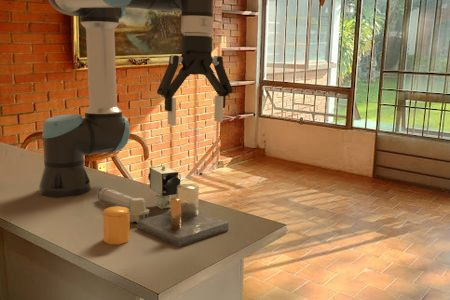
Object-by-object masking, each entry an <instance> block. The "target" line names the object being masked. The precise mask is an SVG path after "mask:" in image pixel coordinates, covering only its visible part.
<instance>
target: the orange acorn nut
mask: <svg viewBox="0 0 450 300" xmlns="http://www.w3.org/2000/svg"><path fill="white" fill-rule="evenodd" d="M129 210H130V209H128V208H126V207H121V206H117V205H114V206H109V207H107V208H105V209H103V214H102V216H103V217H102V220H103V221H102V222H103V223H102V224H103V225H102V226H103V242H105V243H107V244H108V245H122V244H125V243H128V242H129V240H130V238H131V234H130V233H131V232H130V231H131V228H130V227H131V226H130V225H131V222H130V213H129Z"/></svg>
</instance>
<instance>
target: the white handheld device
mask: <svg viewBox="0 0 450 300" xmlns="http://www.w3.org/2000/svg"><path fill="white" fill-rule="evenodd" d="M97 199H98V200H100V201H101V202H103V203H104V204H109V205H114V206H121V207H126V208H128V209H129V213H130V223H134V222H136V223H137V221H138V220H141V219H145V218H149V214H150V209H149V208H147V207H146V201H145V199H144V198H143V197H132V196H129V195H127V194H125V193H122V192H120V191H116V190H114V189H113V188H112V187H108V188H107V187H104V188H100V189H99V191H97Z"/></svg>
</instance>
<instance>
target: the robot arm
mask: <svg viewBox="0 0 450 300" xmlns="http://www.w3.org/2000/svg"><path fill="white" fill-rule="evenodd" d="M48 2H49V3H50V5H51V7H53V9H55V10H56V11H58V12H59V13H61V14H63V15H67V16H70V17H71V16H72V17H80V24H81V26H82V27H83V28H84V29H85V37H86V39H85V40H86V57H87V80H88V81H87V82H88V104H89V105H88V107H87V108H86V110H84V118H83V116H82V114H79V113H69V114H61V115H54V116H51V117H48V118H47V119H46V120H44V122H43V124H42V134H41V136H42V144H43V146H42V147H43V162H44V165H43V167H44V168H43V172H42V174H41V178H40V182H39V188H38V189H39V194H40V195H42V196H45V197H51V198H67V197H76V196H77V197H78V196H81V195H84V194H87V193H89V192H90V191H91V181H90V178H89V175H88V173H87V170H86V167H85V159H84V158H85V156H91V155H95V154H96V155H97V154H105V153H109V154H110V153H113V152H118V151H122V150H123V149H124V148H125V147H126V145H127V144H128V142H129V140H130V136H131V135H130V134H131V132H130V131H131V129H130V128H131V127H130V123H129V120H128V118H127V117H126V116H125V115H123V111H122V109H121V108H119V106H118V105H117V104H118V101H117V97H118V96H117V72H116V70H117V69H116V45H115V44H116V42H115V41H116V40H115V37H116V36H115V30H116V29H117V27H118V26H119V25H120V20H121V19H122V18H123V17H124V16H125V14H126V11H127V9H141V10H142V9H143V10H151V11H157V12H159V13H167V14H168V13H173V12H181V15H180V16H181V18H180V19H181V21H180V23H181V25H180V32H181V34H183V35H182V36H181V38H180V39H181V40H180V50H181V56H178V55H176V54H175V55H173V54H171V55H169V59H168V65H167V67H166V69H165V72H164V74H163V77H162V79H161V81H160V84H159V86H158V88H157V90H156V93H157V94H158V95H159V96H162V97H163V98H164V111H166V112H167V125H169V126H177V113H176V112H177V98H176V97H174V96H175V94H176V93H177V91H178V90H179V89H180V87H181V86H182V85H183V83H184V82H185V81H186V79H187V78H188V77H189V76H190V75H192V76H193V75H203V76H204V77H205V78H206V79H207V81H208V83H209V84H210V85H211V86H212V88H213V90H214V91H215V92H216V94H217V95H214V116H213V117H214V119H213V120H214V122H217V123H218V122H219V123H223V122H224V121H223V120H224V109H225V108H226V99H227V98H226V97H228V96H229V94H232V93H233V88H232V86H231V83H230V80H229V77H228V74H227V72H226V69H225V66H224V61H223V60H224V58H223V56H221V55H220V56H219V55H215V56H212V52H213V37H212V36H211V35H212V34H213V31H214V30H213V28H214V27H213V26H214V25H213V22H214V21H213V20H214V18H213V17H214V0H48ZM180 64H181V65H182V67H181V68H180V69H179V71H178V74H177V75H176V76H175V74H176V72H177V70H178V67H179V65H180ZM211 65H213V67H214V70H215V71H214V70H213V69H212V67H211ZM215 73H216V74H215ZM216 75H217V76H216ZM174 77H175V78H174Z"/></svg>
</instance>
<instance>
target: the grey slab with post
mask: <svg viewBox="0 0 450 300" xmlns="http://www.w3.org/2000/svg"><path fill="white" fill-rule="evenodd" d="M199 188H200V187H199V185H197V184H194V183H193V184H192V183H180V185H178V186H177V194H176V197H172V199H171V208H170V211H168V212H164V213H161V214H158V215H152V216H148V218H145V219H141V220H138V221H137V222H136V223H137V229H139V230H141V231H143V232H146V233H147V234H150V235H152V236H154V237H156V238H159V239H161V240H163V241H165V242H168V243H170V244H173V245H175V246H177V247H182V246H186V245H188V244H192V243H194V242H197V241H200V240H202V239H206V238H209V237H212V236H215V235H218V234H221V233H224V232H226V231H229V221H226V220H223V219H221V218H217V217H214V216H211V215H209V214H205V213H203V212H200V211H199V193H200V192H199V190H200V189H199Z"/></svg>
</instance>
